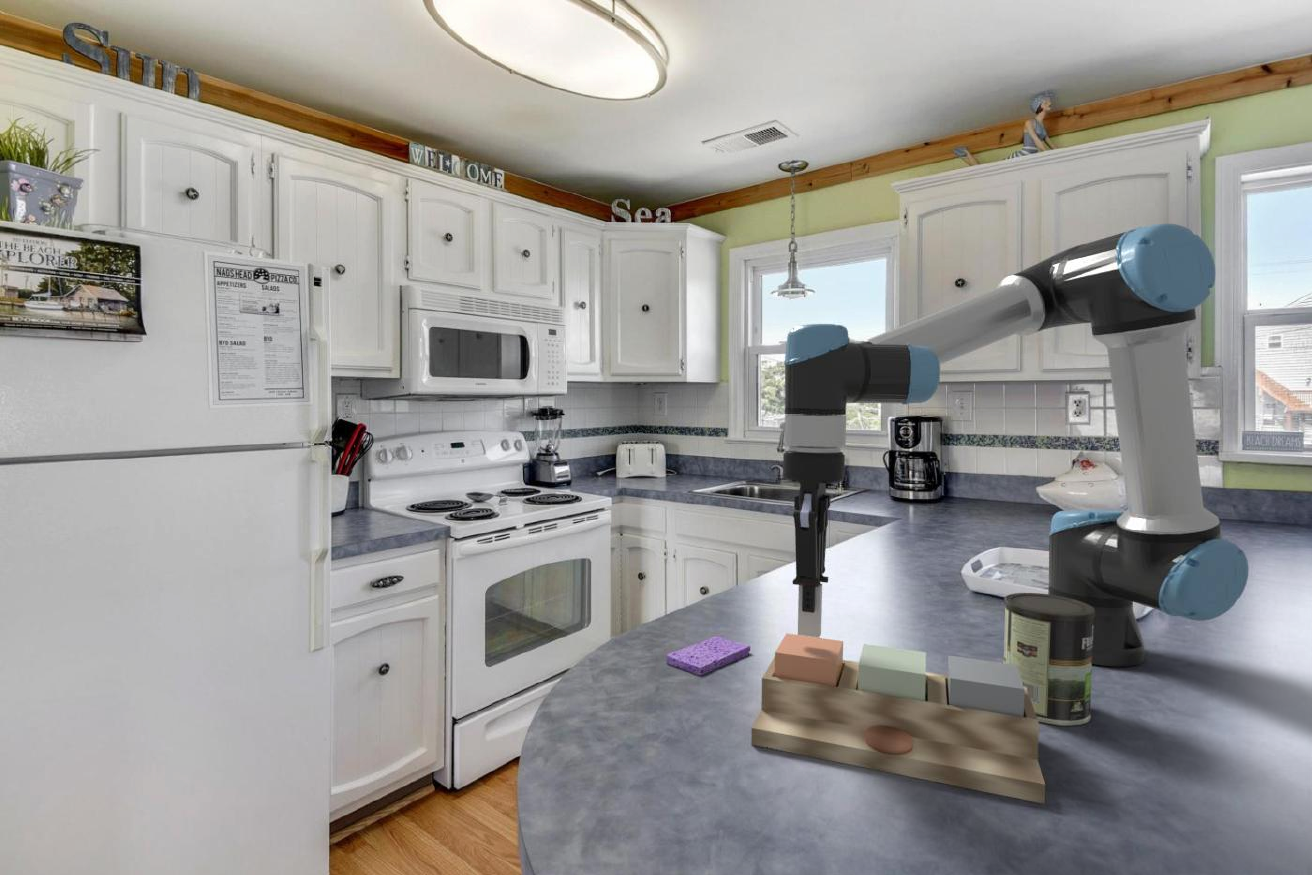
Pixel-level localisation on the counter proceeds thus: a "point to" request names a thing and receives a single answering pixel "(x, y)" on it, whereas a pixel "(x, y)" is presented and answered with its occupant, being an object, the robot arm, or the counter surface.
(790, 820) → the counter surface
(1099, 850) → the counter surface
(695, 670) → the sponges
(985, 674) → the grey key
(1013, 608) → the coffee can
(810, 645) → the terracotta key
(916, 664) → the sage key
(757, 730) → the key panel
